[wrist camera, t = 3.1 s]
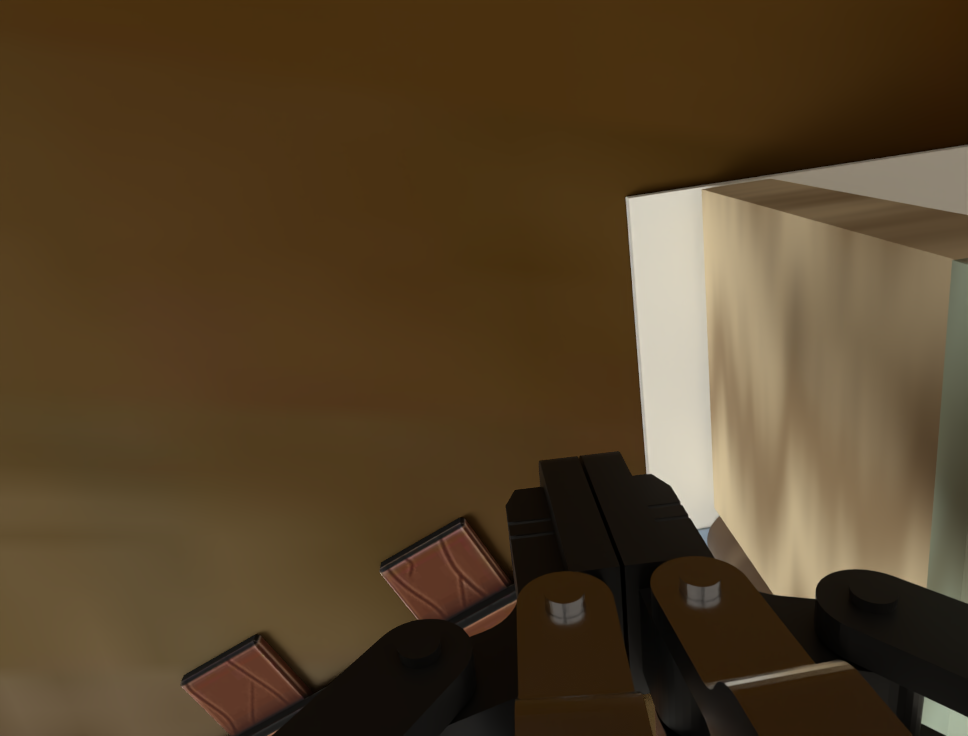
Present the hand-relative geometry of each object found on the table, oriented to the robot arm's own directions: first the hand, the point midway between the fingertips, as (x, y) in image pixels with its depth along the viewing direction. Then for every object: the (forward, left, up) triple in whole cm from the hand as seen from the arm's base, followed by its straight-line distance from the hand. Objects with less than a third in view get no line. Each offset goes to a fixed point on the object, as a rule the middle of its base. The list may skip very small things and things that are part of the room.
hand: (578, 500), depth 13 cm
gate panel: (+1, +7, -9) cm, 11 cm away
